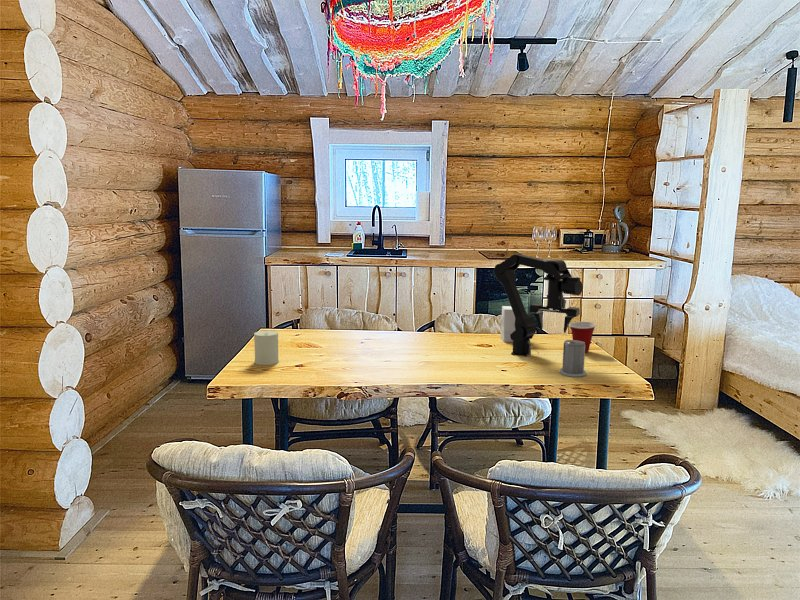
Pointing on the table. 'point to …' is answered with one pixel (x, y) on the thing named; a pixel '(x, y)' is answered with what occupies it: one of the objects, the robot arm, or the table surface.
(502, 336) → the supplement box
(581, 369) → the grey flanged cylinder
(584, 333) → the plastic cup
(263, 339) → the can
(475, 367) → the table surface
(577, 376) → the bowl saucer
